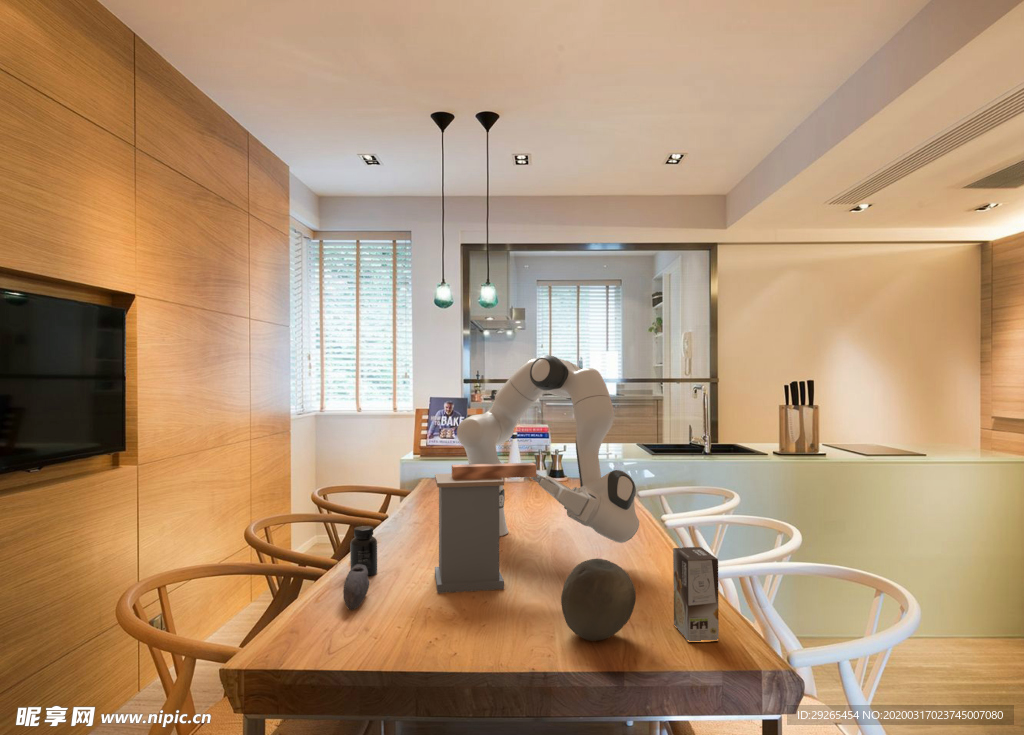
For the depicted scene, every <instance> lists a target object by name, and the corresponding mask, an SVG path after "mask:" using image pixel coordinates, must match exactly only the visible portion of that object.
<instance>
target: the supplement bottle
mask: <svg viewBox="0 0 1024 735" xmlns="http://www.w3.org/2000/svg"><path fill="white" fill-rule="evenodd" d="M353 532H354V533H353V536H354V538H352V539H351V541H350V543H349V544H350V545H349V548H350V549H349V550H350V555H349V556H350V570H351V569H352V568H353V567H354V566H355V565H357V564H361V565H365V566H366V568H367V570H368V578H370V577H373V576H375V575H376V574H378V540H377V538H376V537H374V536H373V535H374V527H373V526H372V525H371V526H370V525H361V526H356V527H354V529H353Z"/></svg>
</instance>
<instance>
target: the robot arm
mask: <svg viewBox="0 0 1024 735" xmlns="http://www.w3.org/2000/svg"><path fill="white" fill-rule="evenodd" d="M605 382H606V381H604V377H603V376H602V374H601V373H600V372H599V371H598V370H597V369H595V368H592V367H584V368H582V367H580V366H577V365H576V364H574V363H572V361H571V362H570V361H568V360H565V359H561V358H558V357H557V356H555V355H554V356H553V355H548V354H547V355H541V356H539V357H538V356H537V358H530V359H529V360H528V361H526V362H525V363H523V364H522V366H520V367H519V368H518V369H517V370H516V371H515V372H514V373H513V374H512V375H511V376H510V377H509V379H507V381H505V383H504V384H503V385H502V386H501V388H500V389H499V390H498V391H497V392H496V394H495V396H494V402H493V403H492V405H491V407H490V408H489V409H488V410H487V411H486V412H484V413H481V414H473V415H471V416H468V417H466V418H464V419H463V420H462V421H461V422H459V424H458V426H457V430H456V436H457V440H458V441H459V443H460V444H461V445H462V447H463V448H464V450H465V453H466V458H467V461H468V462H467V463H468V464H503V463H502V462H501V461H500V459H499V457H498V456H499V455H498V452H497V446H500V445H503V444H504V443H506V442H507V441H509V440H510V439H511V438H512V436H513V434H514V432H515V428H516V427H517V425H518V422H519V421H520V419H522V417H523V416H524V415H525V413H527V411H528V410H529V409H530V408H531V407H532V406H533V405H534V404H535V403H536V401H537V400H538V399H539V398H540V397H541V395H543V394H544V392H546V393H548V394H551V395H553V396H556V397H560V398H565V399H567V400H571V403H572V407H573V412H574V417H575V427H576V428H575V431H576V432H575V450H576V451H575V452H576V458H577V459H576V460H577V467H578V476H579V484H580V485H579V487H577V486H575V487H573V488H570V487H568V486H567V485H565V484H564V483H562V482H560V481H558V480H557V479H555V478H553V477H551V476H550V475H547V476H545V477H544V476H543V475H540V474H538V473H536V477H530V478H531V480H533V481H535V482H537V483H538V484H537V485H538V486H539V487H541V488H542V489H543V490H544V491H545V492H547V493H548V494H549V495H550V496H552V497H553V498H554V500H556V501H557V502H558V503H559V504H561V505H562V506H563V508H564V510H566V516H567V517H569V519H572V520H574V521H576V522H578V523H579V524H581V525H583V526H585V527H589V528H591V529H592V530H593V531H595V533H596V534H598V535H600V536H603V537H604V538H606V539H609V540H610V541H613V542H616V543H618V544H623V543H626V542H628V541H630V540H631V539H632V538H633V537H634V536H635V535H636V534H637V532H638V530H639V526H640V519H639V517H638V516H637V513H636V505H635V504H636V503H635V497H636V493H637V488H636V487H637V486H636V484H635V480H634V479H632V477H631V476H630V475H629V474H628V473H626V472H625V471H622V470H620V469H615V470H612V471H610V472H608V473H607V474H605V475H603V476H602V473H601V468H600V467H601V466H600V460H599V454H600V449H601V446H602V444H603V441H604V440H605V438H606V436H607V434H608V433H609V431H610V430H611V428H612V427H613V425H614V421H615V413H614V411H615V410H614V405H613V402H612V399H611V395H610V393H609V390H608V387H607V384H606V383H605ZM501 479H502V480H503V481H504V478H501ZM505 496H506V495H505V489H504V485H501V486H499V537H503V536H505V535H507V534H508V533H509V530H508V526H507V520H506V514H505V507H504V506H505V500H506V499H505Z"/></svg>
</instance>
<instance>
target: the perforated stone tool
mask: <svg viewBox="0 0 1024 735" xmlns="http://www.w3.org/2000/svg"><path fill="white" fill-rule="evenodd" d="M369 586H370V579H369V577H368V570H367V568H366V566H365V565H361V564H357V565H355V566H354V567H353V568H352V569H351V568H350V570H349V571H348V573H347V574H346V577H345V580H344V584H343V592H342V593H343V600H344V604H345V606H346V608H347V610H349V611H353V610H355V609H357V608H358V607H359V606H360V605H361V604H362V603H363V601H364V600H365V598H366V595H367V594H368V590H369Z"/></svg>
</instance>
